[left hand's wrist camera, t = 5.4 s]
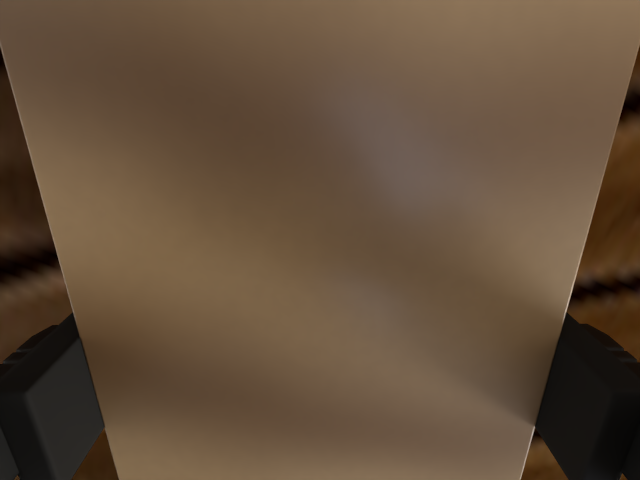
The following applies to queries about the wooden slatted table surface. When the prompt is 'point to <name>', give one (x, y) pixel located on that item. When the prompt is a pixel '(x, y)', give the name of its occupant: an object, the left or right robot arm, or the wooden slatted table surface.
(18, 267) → the wooden slatted table surface
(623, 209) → the wooden slatted table surface
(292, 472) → the cabinet
